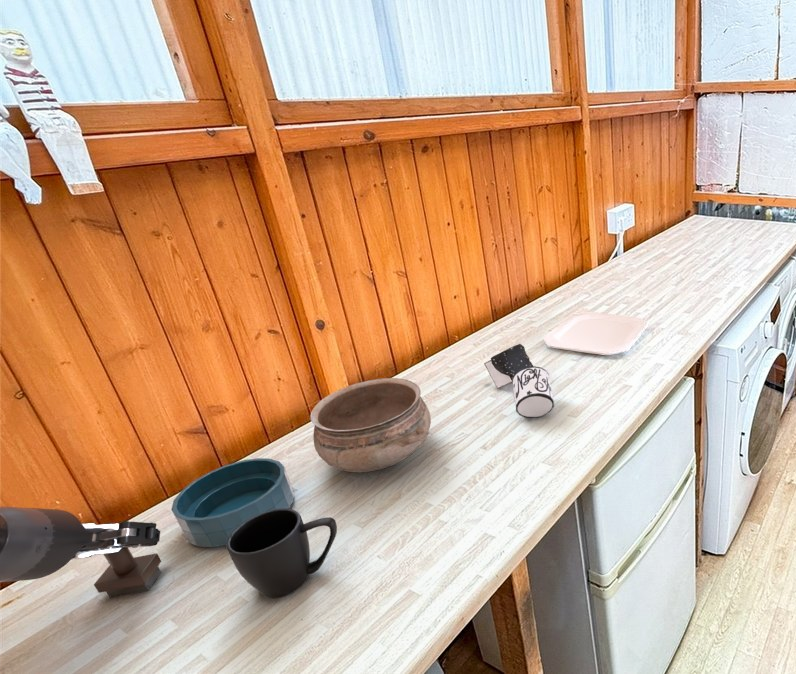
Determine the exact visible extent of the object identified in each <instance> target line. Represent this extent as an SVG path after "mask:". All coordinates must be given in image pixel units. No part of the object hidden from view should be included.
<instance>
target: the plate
mask: <svg viewBox="0 0 796 674" xmlns="http://www.w3.org/2000/svg"><path fill="white" fill-rule="evenodd" d="M648 327H649V323H648V322H647V321H645V320H644V319H643V318H641V317H640V316H633V315H632V316H630V315H622V314H615V313H605V312H597V311H588V310H587V311H581V312H576V313H571V314H569V316H567V317H566V318H564V320H562V321H561V322H560V323H559V324H558V325H556V326H555V327H554V328H552V329H551V330H550V331H549V332H547V334H545V335H544V336H543V337H542V340H543V342H544V343H545V345H546V346H547V347H549V348H553V349H558V350H565V351H571V352H577V353H583V354H584V353H586V354H592V355H600V356H612V355H617V354H622V353H626V352H628V351H630V349H631V348H632V347H633V346H634V345H635V343H636V342H637V341H638V339H639V338H640V337H641V336H642V335H643V333H644V332H645V331H646V329H648Z"/></svg>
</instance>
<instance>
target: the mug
mask: <svg viewBox="0 0 796 674" xmlns="http://www.w3.org/2000/svg"><path fill="white" fill-rule="evenodd" d="M319 527H327V528H329V537H328V540H327V543H326V545H325V548H324V550H323V551H322V553H321V554H320V556H318V558H317V559H315V560H314V561H311V560H310V558H311V552H310V550H311V549H310V541H309V537H308V531H310V530H312V529H316V528H319ZM337 531H338V526H337V521H336V520H335V518H333V517H331V516H329V517H326V516H325V517H321V518H317V519H314V520H311V521H308V522H305V523H304V521H303V518H302V516H301V514H300V512H299V511H297V510H295V509H293V508H289V509H288V508H281V509H274V510H270V511H266V512H264V513H261V514H258V515H256V516H254V517H252V518H250V519H248V520H247V521H245V522H244V523H242V524H241V525H240V526H238V527H237V528H236V529H235V530H234V531H233V532H232V533H231V535H230V536H229V538H228V540H227V543H226V545H225V547H226V550H227V553H228V555H229V557H230V559H231V561H232V563H233V565H234V567H235V568H236V570H237V571H238V573H239V574H240V576H241V577H242V578H243V579H244V580H245V581H246V582H247V583H248V584H249V585H250V586H251V587H253V588H254V589H255V590H257V591H258V592H259V593H261V594H262V596H263V597H265V598H268V599H280V598H283V597H286V596H289V595H291V594H293V593H294V592H296V591H297V590H298V589H300V588H301V587H302V586H303V585H304V584H305V583H306V582H307V580H308V578H309V576H310V575H312V574H315V573H316V572H317V571H318V570H319V569H320V568H321V567H322V566H323V564H324V563H325V560H326V558H327V556H328V554H329V552H330V549H331V547H332V545H333V544H334V541H335V540H336V539H335V538H336V535H337ZM310 561H311V562H310Z"/></svg>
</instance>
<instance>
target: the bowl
mask: <svg viewBox="0 0 796 674" xmlns="http://www.w3.org/2000/svg"><path fill="white" fill-rule="evenodd" d="M291 483H292V482H291V480H290V478H289V475H288V473H287V470H286V467H285V466H284V465H283V463H281V462H280V461H279V460H276V459H272V458H264V457H262V458H261V457H259V458H258V457H256V458H250V459H242V460H239V461H235V462H233V463H232V462H231V463H229V464H226V465H223V466H221V467H218V468H216V469H214V470H210V471H209V472H207V473H205V474H203V475H202V476H200V477H198V478H197V479H195V480H192V482H190V483H189V484H188V485H187V486H185V487H184V488H183V489H182V490H180V492H179V493H178V494H177V496H176V497H175V498H174V499H173V501H172V505H171V512H172V514H173V516H174V518H175V520H176V522H177V524H178V525H179V528H180V529H181V531H182V533H183V535H184V537H185V539H186V540H187V542H188V543H189V544H192V545H194V546H196V547H198V548H199V547H201V548H203V547H204V548H215V547H220V546H226V543H227V540H228V538H229V536H230V535H231V533H232V532H233V531H234V530H235V529H236V528H237V527H238V526H240V525H241V524H242V523H244V522H245V521H247V520H248V519H250V518H252V517H254V516H256V515H258V514H261V513H264V512H266V511H270V510H274V509H281V508H288V509H291V506H292V504H293V502H294V500H295V493H294V492H295V491H294V488H293V486H292V484H291Z"/></svg>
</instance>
